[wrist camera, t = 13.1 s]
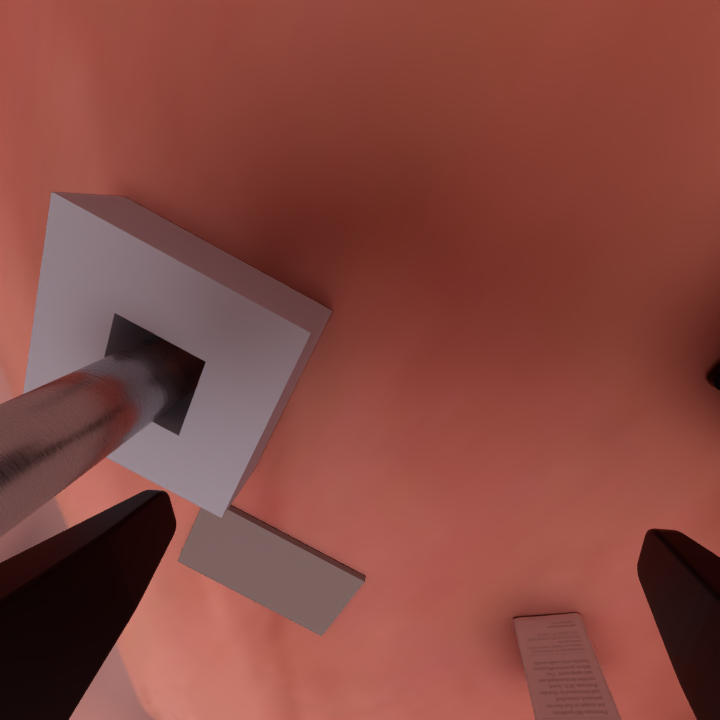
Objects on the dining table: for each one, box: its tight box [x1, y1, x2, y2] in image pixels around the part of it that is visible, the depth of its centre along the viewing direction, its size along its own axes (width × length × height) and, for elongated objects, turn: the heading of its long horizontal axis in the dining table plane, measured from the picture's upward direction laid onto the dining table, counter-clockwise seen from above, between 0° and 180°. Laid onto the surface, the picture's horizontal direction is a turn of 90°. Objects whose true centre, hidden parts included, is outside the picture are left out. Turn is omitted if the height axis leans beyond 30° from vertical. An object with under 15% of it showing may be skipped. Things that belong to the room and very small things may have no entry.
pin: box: [0, 335, 206, 538], centre depth 16 cm, size 3×3×12 cm
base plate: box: [178, 505, 365, 636], centre depth 27 cm, size 12×7×1 cm, turn 63°
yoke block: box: [23, 192, 332, 518], centre depth 20 cm, size 12×12×4 cm
